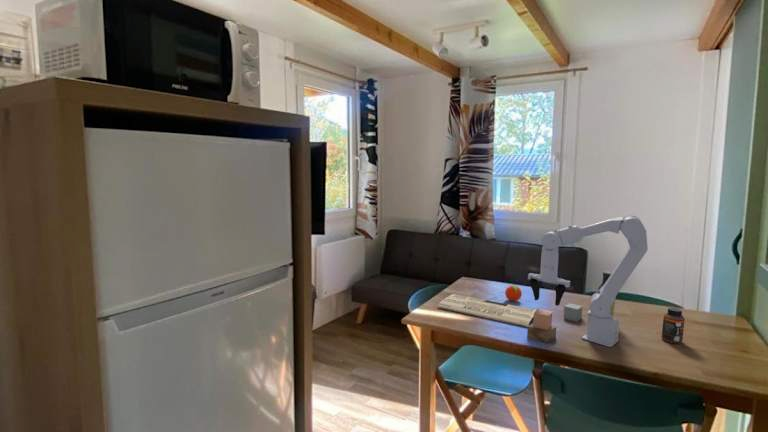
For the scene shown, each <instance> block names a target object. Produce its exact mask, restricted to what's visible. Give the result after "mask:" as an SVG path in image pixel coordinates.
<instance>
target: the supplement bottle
mask: <svg viewBox="0 0 768 432" xmlns="http://www.w3.org/2000/svg"><path fill="white" fill-rule="evenodd" d="M682 314H683V310H682V309H681V308H677V307H672V306H671V307H667V312H666V313H664V315H663V321H662V329H661V339H662V340H663V341H665V342H667V343H670V344H675V343H679V344H681V343H683V340H684V339H683V338H684V330H685V329H684V328H685V320H686V319H685V317H684V316H683V315H682Z"/></svg>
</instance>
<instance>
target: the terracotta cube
mask: <svg viewBox="0 0 768 432" xmlns="http://www.w3.org/2000/svg"><path fill="white" fill-rule="evenodd" d="M535 310H536V311H535V312H534V316H533V321H532V322H533V323H532V324H533V327H536V328H540V329H545V330H549V328H550V327H551V325H552V323H553V321H552V320H553V311H552V310H551V311H550V310H546V309H541V308H537V309H535ZM552 326H553V325H552Z"/></svg>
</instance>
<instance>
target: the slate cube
mask: <svg viewBox="0 0 768 432" xmlns="http://www.w3.org/2000/svg"><path fill="white" fill-rule="evenodd" d="M563 307H564V309H563V319H566V320H569V321H573V322H579V321H580V320H582V318H583V306H582V305H578V304H574V303H571V302H570V303H569V302H568V304H566V305H564V306H563Z"/></svg>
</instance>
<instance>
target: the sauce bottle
mask: <svg viewBox="0 0 768 432" xmlns="http://www.w3.org/2000/svg"><path fill="white" fill-rule="evenodd" d="M612 272H613V271H607V270H605V271H603V273H602V281H601V283H600V284H599V285H598V289H597V292H598V291H599V290H600V288H601V287H602V286H603V285H604V284H605V283H606V281H607V280H608V278H609V277H610V275H611V274H612ZM615 303H616V299H615V300H614V302H613V304H612V305H611V312H610V313H611V315H612V317H613V318H614V313H615V312H614V311H615V305H616V304H615Z"/></svg>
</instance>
